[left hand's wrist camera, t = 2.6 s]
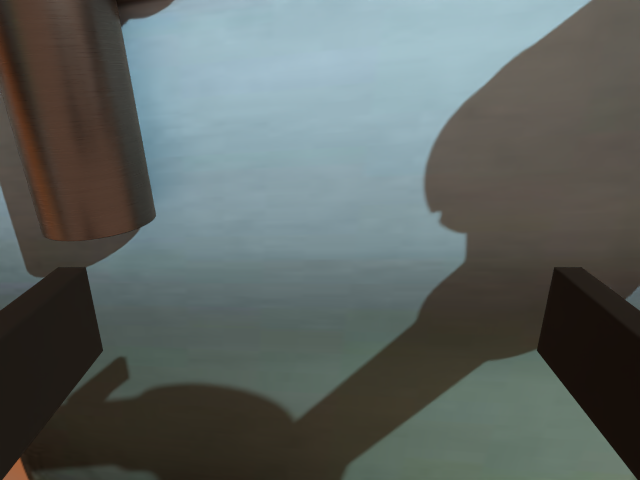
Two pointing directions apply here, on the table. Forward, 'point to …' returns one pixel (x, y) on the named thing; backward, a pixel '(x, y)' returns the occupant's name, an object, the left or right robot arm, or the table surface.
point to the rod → (74, 117)
